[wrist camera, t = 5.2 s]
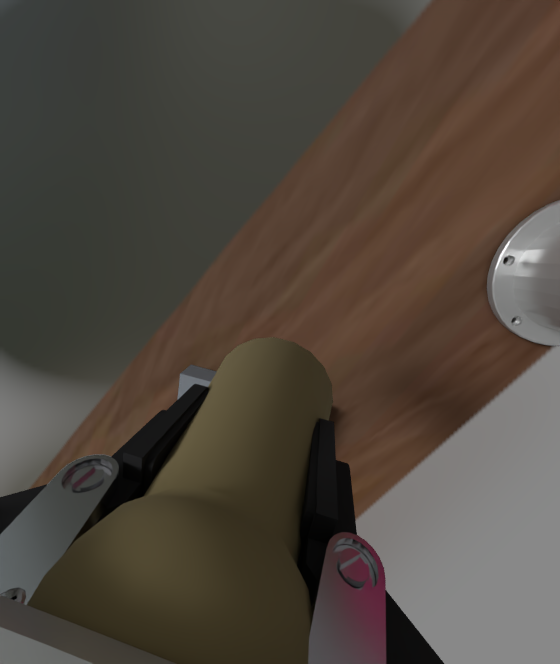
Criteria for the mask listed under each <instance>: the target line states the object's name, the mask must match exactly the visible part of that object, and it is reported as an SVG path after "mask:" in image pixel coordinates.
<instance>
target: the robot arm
mask: <svg viewBox="0 0 560 664" xmlns="http://www.w3.org/2000/svg"><path fill="white" fill-rule="evenodd" d="M504 258H505V262H504V263H503V260H504ZM487 294H488V300H489V303H490V306H491V308H492V311H493V313H494V315H495V316H496V317H497V319H498V320H499V322H500V323H501V324H502V325H503V326H504V327H506V328H507V329H508V330H509V331H511V332H512V333H514V334H516V335H518V336H519V337H521V338H524V339H527V340H529V341H532V342H535V343H539V344H544V345H550V346H560V200H558V201H556V202H553V203H550V204H548V205H546V206H544V207H543V208H541V209H539V210H537V211H535V212H533V213H532V214H531V215H529V216H528V217H527V218H525V219H524V220H523V221H521V222H520V223H519V224H518V225H517V226H516V227H515V228H514V229H513V230H512V231H511V232H510V233H509V234H508V235H507V237H506V238H505V239H504V241H503V242H502V244H501V245H500V246H499V248H498V250H497V252H496V254H495V256H494V258H493V260H492V262H491V266H490V269H489V273H488V279H487ZM208 390H209V387H206V386H202V385H199V384H194V385H192V386H191V387H190V388H189V389H188V390H187V391H186V392H185V393H184V394H183V395H182V396H181V397H180V398H179V399H178V400H177V401H176V402H175V403H174V404H173V405H172V406H171V407H170V408H169V409H168V410H167V411H166V410H162V411H160V412H159V413H158V414H157V415H156V416H155V417H153V418H152V419H151V420H150V421H149V422H148V423H147V424H146V425H145V426H144V427H143V428H142V429H141V430H140V431H138V432H137V433H136V434H135V435H134V436H133V437H132V438H131V439H130V440H129V441H128V442H127V443H126V444H125V445H123V446H122V447H121V448H120V449H119V450H118V451H117V452H116V453H115V454H114V455H113V456H112V457H110V456H107V455H90V456H85V457H82V458H80V459H77V460H75V461H73V462H71V463H70V464H68V465H67V466H65V467H64V468H63V469H62V470H61V471H60V472H59V473H58V474H57V475H56V476H55V477H54V478H53V479H52V480H51V481H50V482H49V483H48V484H47V485H43V486H40V487H36V488H32V489H29V490H25V491H21V492H18V493H15V494H11V495H7V496H4V497H0V664H176V663H173V662H171V661H168V660H165V659H163V658H160V657H158V656H155V655H153V654H150V653H148V652H145V651H143V650H140V649H138V648H135V647H133V646H130V645H127V644H125V643H122V642H120V641H117V640H115V639H112V638H110V637H107V636H105V635H102V634H99V633H97V632H94V631H92V630H89V629H87V628H84V627H82V626H79V625H77V624H74V623H71V622H69V621H66V620H64V619H61V618H58V617H56V616H53V615H51V614H48V613H45V612H43V611H40V610H38V609H35V608H32V607H30V606H27V603H28V602H29V600H30V598H31V597H32V595H33V594H34V592H35V590H36V589H37V587H38V585H39V584H40V582H41V580H42V579H43V577H44V576H45V574H46V573H47V572H48V571H49V570H50V569H51V568H52V567H53V566H54V564H55V563H56V562H57V561H58V560H59V559H60V558H61V557H62V556H63V554H64V553H65V552H66V551H67V550H68V549H69V547H70V546H71V545H72V544H73V543H74V541H76V540H77V539H78V538H79V537H81V536H82V535H83V534H84V533H86V532H87V531H88V530H90V529H91V528H92V527H93V526H95V525H96V524H97V523H98V522H100V521H101V520H102V519H104V518H105V517H106V516H107V515H109V514H110V513H111V512H113V511H114V510H115V509H116V508H118V507H119V506H120V505H122V504H123V503H126V502H129V501H132V500H135V499H138V498H141V497H143V496H144V495H145V493H146V491H147V490H148V488H149V486H150V485H151V483H152V481H153V479H154V478H155V476H156V474H157V473H158V471H159V469H160V468H161V466H162V464H163V462H164V461H165V459H166V458H167V456H168V454H169V453H170V451H171V450H172V448H173V447H174V445H175V444H176V442H177V441H178V439H179V438H180V436H181V435H182V433H183V432H184V430H185V429H186V427H187V426H188V424H189V423H190V421H191V419H192V418H193V416H194V415H195V413H196V412H197V410H198V409H199V407H200V406H201V404H202V403H203V401H204V400H205V398H206V396H207V394H208V392H209V391H208ZM300 538H301V550H300V554H299V559H298V564H297V567H298V569H299V571H300V573H301V575H302V577H303V579H304V581H305V583H306V585H307V587H308V589H309V596H310V603H311V609H312V621H311V629H310V635H309V655H308V664H444V663H443V661H442V660H441V659H440V658H439V656H438V655H437V654H436V653H435V651H434V650H433V649H432V648H431V647H430V645H429V644H428V643H427V642H426V640H425V639H424V638H423V636H422V635H421V634H420V633H419V631H418V630H417V629H416V628H415V626H414V625H413V624H412V623H411V621H410V620H409V619H408V617H407V616H406V615H405V614H404V613H403V611H402V610H401V609H400V607H399V606H398V605H397V604H396V602H395V601H394V600H393V599H392V597H391V596H390V595H389V594H388V592H387V591H386V590H385V573H384V567H383V565H382V562H381V560H380V558H379V556H378V555H377V553H376V552H375V550H374V549H373V548H372V547H371V546H370V545H369V544H368V543H367V542H366V541H365V540H364V539H362V538H360V537H359V536H358V535H357V532H356V523H355V514H354V504H353V495H352V486H351V476H350V468H349V465H348V464H347V463H344V462H341V461H337V460H336V458H335V435H334V422H332V421H328V420H325V419H321V418H319V422H316V425H315V427H314V430H313V435H312V443H311V451H310V459H309V467H308V475H307V483H306V491H305V499H304V506H303V513H302V520H301V527H300Z"/></svg>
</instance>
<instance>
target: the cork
mask: <svg viewBox="0 0 560 664" xmlns="http://www.w3.org/2000/svg"><path fill="white" fill-rule="evenodd" d="M208 387H209V390H208V391H209V392H208V394H207V396H206V398H205V400H204V401H203V403H202V404H201V406H200V407H199V409H198V410H197V412H196V413H195V415H194V416H193V418H192V419H191V421H190V423H189V424H188V426H187V427H186V429H185V430H184V432H183V433H182V435H181V436H180V438H179V439H178V441H177V442H176V444H175V445H174V447H173V448H172V450H171V451H170V453H169V454H168V456H167V458H166V459H165V461H164V462H163V464H162V466H161V468H160V469H159V471H158V473H157V474H156V476H155V478H154V479H153V481H152V483H151V485H150V486H149V488H148V490H147V491H146V493H145V495H144V496H143V497H141V498H138V499H135V500H132V501H129V502H126V503H123V504H122V505H120V506H119V507H118V508H116V509H115V510H114V511H113V512H111V513H110V514H109V515H107V516H106V517H105V518H104V519H102V520H101V521H100V522H98V523H97V524H96V525H95V526H93V527H92V528H91V529H90V530H88V531H87V532H86V533H84V534H83V535H82V536H81V537H79V538H78V539H77V540H76V541H74V543H73V544H72V545H71V546H70V547H69V549H68V550H67V551H66V552H65V553H64V554H63V556H62V557H61V558H60V559H59V560H58V561H57V562H56V563H55V564H54V566H53V567H52V568H51V569H50V570H49V571H48V572H47V573H46V574H45V576H44V577H43V579H42V580H41V582H40V584H39V585H38V587H37V589H36V590H35V592H34V594H33V595H32V597H31V598H30V600H29V602H28V603H27V606H30V607H32V608H35V609H38V610H40V611H43V612H45V613H48V614H51V615H53V616H56V617H58V618H61V619H64V620H66V621H69V622H71V623H74V624H77V625H79V626H82V627H84V628H87V629H89V630H92V631H94V632H97V633H99V634H102V635H105V636H107V637H110V638H112V639H115V640H117V641H120V642H122V643H125V644H127V645H130V646H133V647H135V648H138V649H140V650H143V651H145V652H148V653H150V654H153V655H155V656H158V657H160V658H163V659H165V660H168V661H171V662H173V663H176V664H308V655H309V635H310V629H311V621H312V609H311V603H310V596H309V589H308V587H307V585H306V583H305V581H304V579H303V577H302V575H301V573H300V571H299V569H298V567H297V564H298V559H299V554H300V550H301V538H300V527H301V520H302V513H303V506H304V499H305V491H306V483H307V475H308V467H309V459H310V451H311V443H312V435H313V430H314V427H315V425H316V422H319V418H321V419H325V420H328V421H329V417H330V412H331V408H332V403H333V397H332V384H331V382H330V379H329V377H328V375H327V373H326V370H325V368H324V366H323V365H322V364H321V363H320V362H319V361H318V360H317V359H316V357H315V356H314V355H313V354H312V353H311V352H309V351H308V350H306V349H304V348H303V347H301V346H299V345H298V344H296V343H294V342H291V341H287V340H283V339H279V338H275V337H273V338H258V339H253V340H251V341H248V342H246V343H243V344H241V345H238V346H237V347H236V348H235V349H234V350H233V351H232V352H230V353H229V354H228V355H227V356H226V357H225V359H224V360H223V362H222V364H221V365H220V367H219V369H218V371H217V372H216V374H215V376H214V377H213V379H212V381H211V382H210V384H209V386H208Z"/></svg>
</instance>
